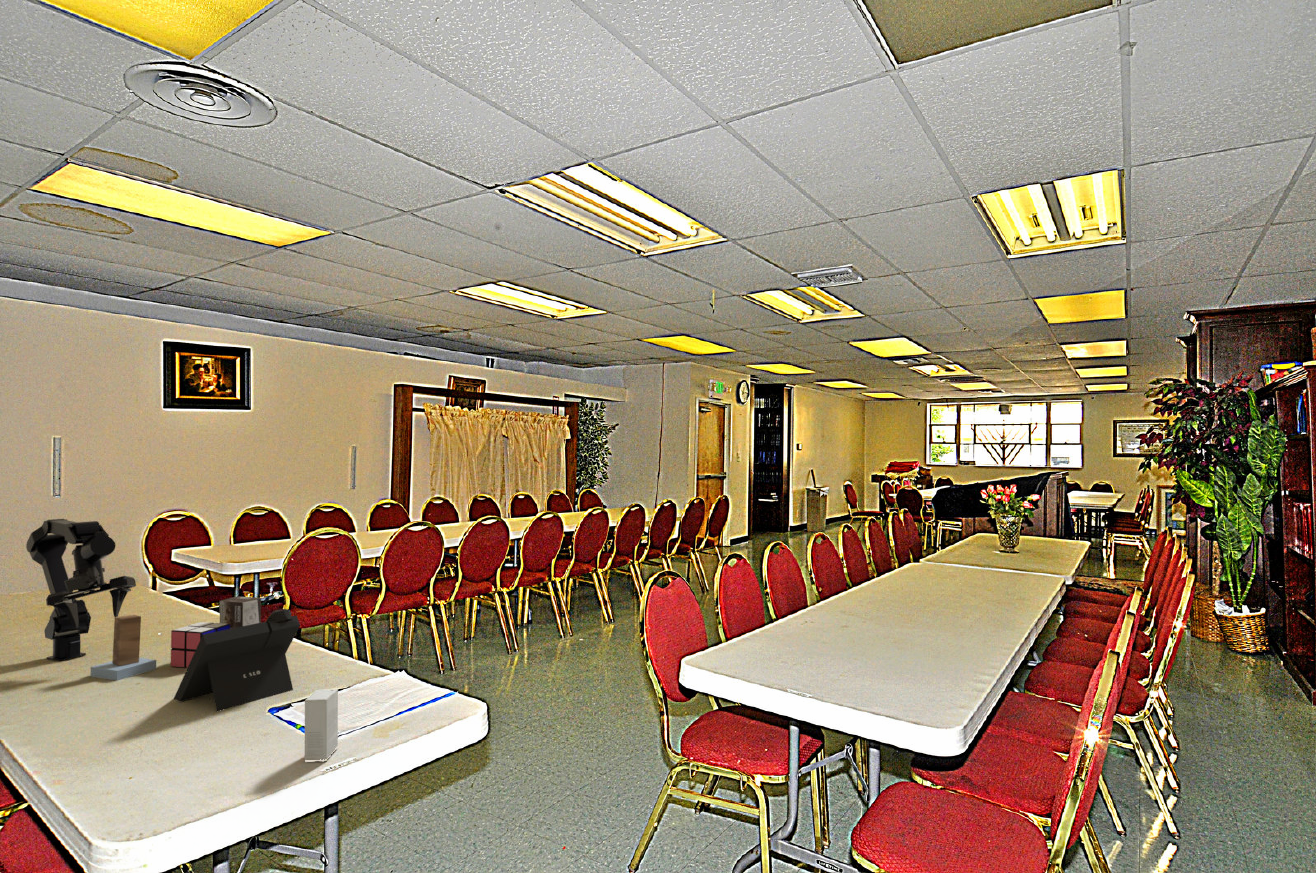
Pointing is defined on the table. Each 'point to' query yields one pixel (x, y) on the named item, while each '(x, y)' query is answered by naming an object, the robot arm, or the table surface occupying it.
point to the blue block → (122, 669)
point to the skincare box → (321, 724)
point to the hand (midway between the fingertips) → (96, 622)
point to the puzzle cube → (190, 641)
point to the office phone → (242, 663)
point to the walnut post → (126, 639)
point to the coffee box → (240, 611)
